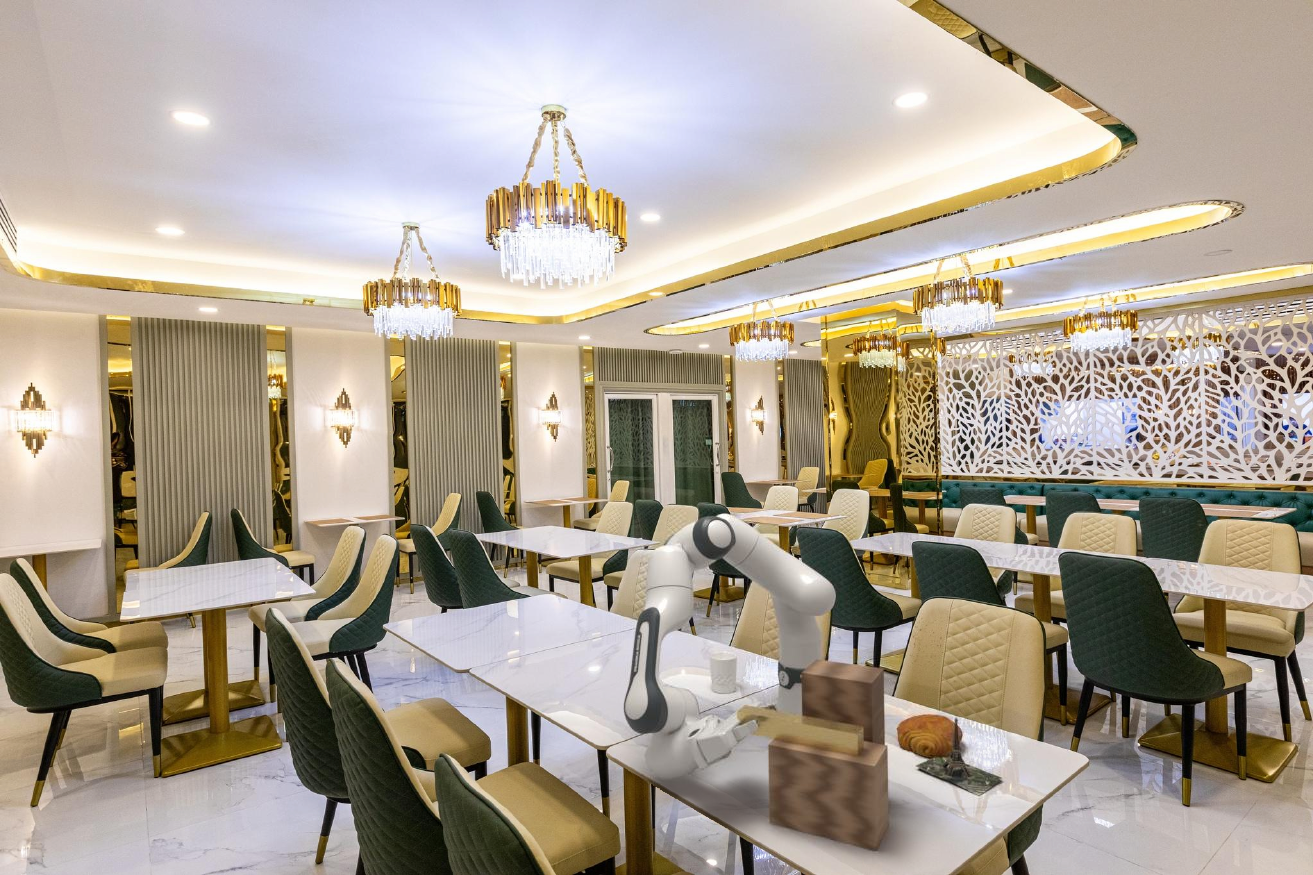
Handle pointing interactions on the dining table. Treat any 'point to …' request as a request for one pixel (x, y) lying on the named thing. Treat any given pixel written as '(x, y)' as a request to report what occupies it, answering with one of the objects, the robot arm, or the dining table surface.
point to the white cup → (723, 671)
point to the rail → (804, 730)
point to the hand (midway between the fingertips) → (766, 715)
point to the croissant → (928, 735)
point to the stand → (835, 761)
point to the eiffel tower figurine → (960, 770)
